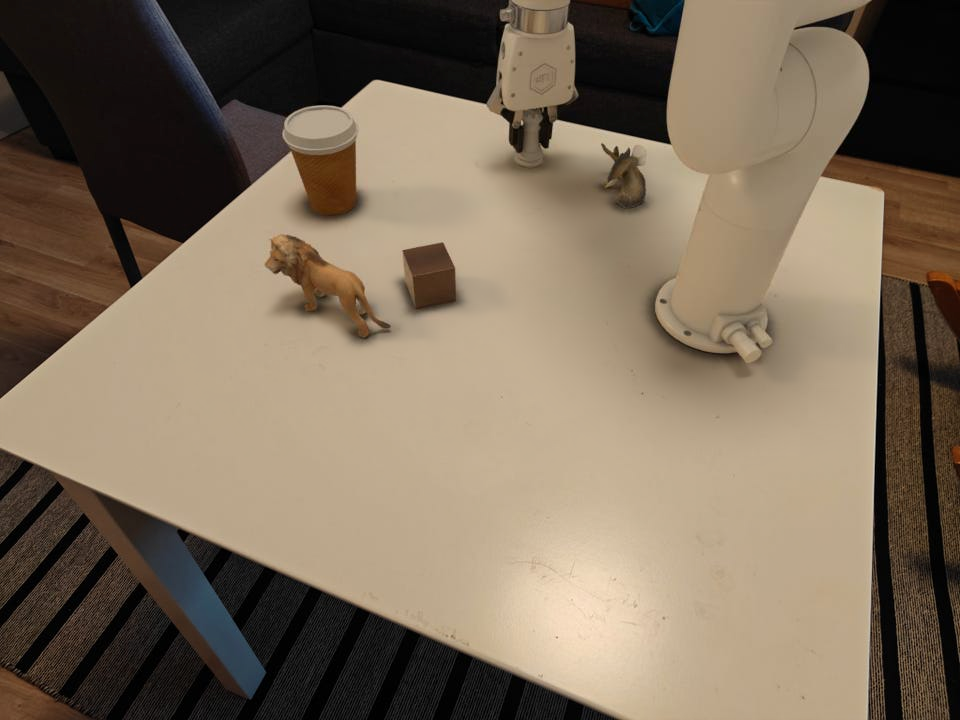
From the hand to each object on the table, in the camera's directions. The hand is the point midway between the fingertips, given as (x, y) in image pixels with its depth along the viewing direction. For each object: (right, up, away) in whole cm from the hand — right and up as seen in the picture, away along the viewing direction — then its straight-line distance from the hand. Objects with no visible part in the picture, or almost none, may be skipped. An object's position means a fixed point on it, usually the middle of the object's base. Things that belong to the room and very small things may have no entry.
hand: (529, 145), depth 96 cm
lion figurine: (-25, -27, -21) cm, 42 cm away
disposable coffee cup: (-28, -10, -6) cm, 30 cm away
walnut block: (-13, -24, -18) cm, 33 cm away
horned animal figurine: (+13, -7, -3) cm, 15 cm away
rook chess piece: (0, -2, +2) cm, 3 cm away
